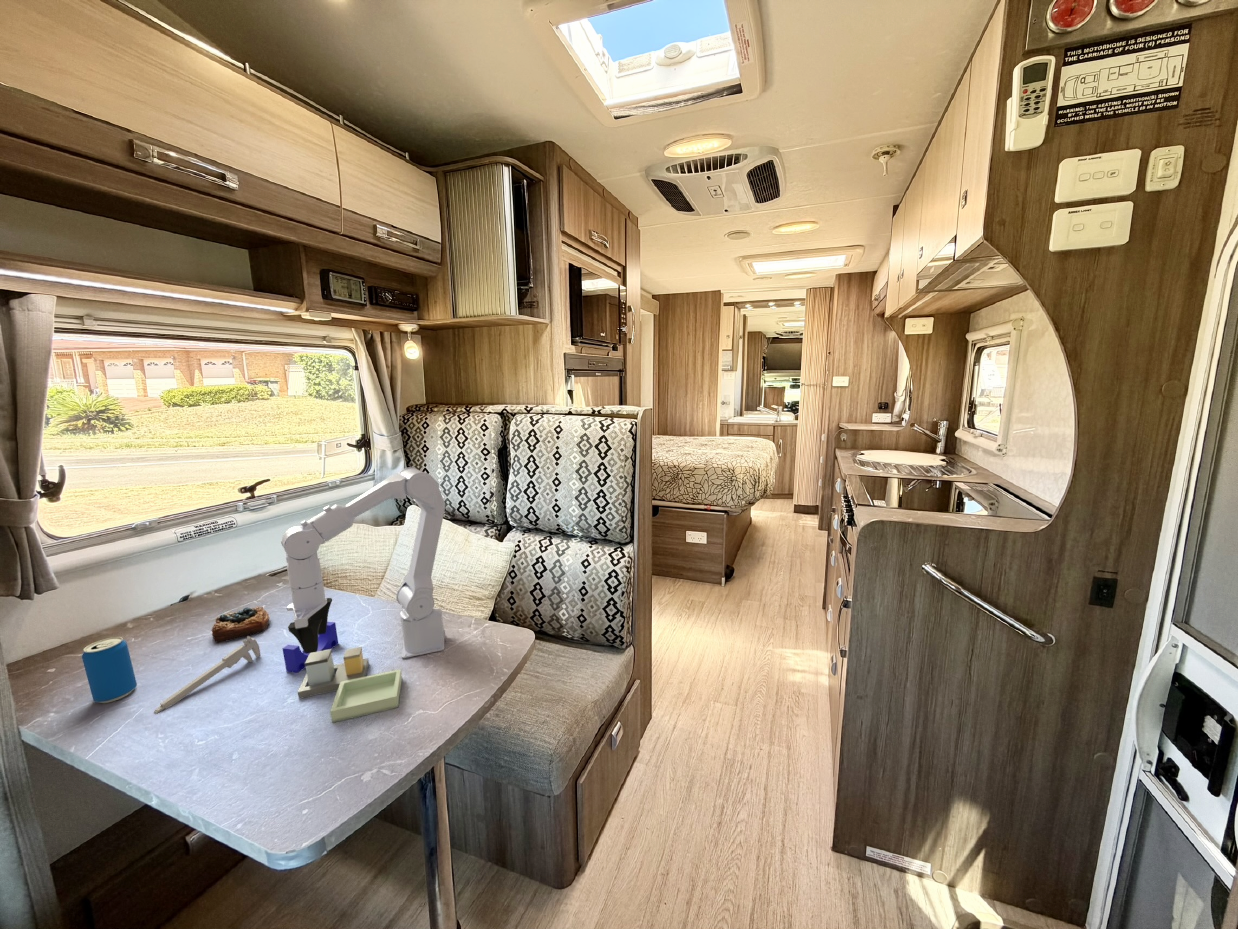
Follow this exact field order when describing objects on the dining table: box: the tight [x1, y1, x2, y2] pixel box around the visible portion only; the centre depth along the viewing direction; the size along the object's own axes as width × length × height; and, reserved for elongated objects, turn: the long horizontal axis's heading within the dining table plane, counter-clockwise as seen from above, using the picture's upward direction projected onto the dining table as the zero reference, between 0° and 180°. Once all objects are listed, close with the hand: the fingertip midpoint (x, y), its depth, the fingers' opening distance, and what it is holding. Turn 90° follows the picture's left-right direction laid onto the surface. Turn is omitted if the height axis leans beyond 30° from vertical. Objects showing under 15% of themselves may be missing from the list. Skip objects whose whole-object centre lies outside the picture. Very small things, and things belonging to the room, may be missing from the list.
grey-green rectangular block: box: [305, 649, 335, 686], centre depth 102 cm, size 4×4×7 cm
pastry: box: [210, 606, 270, 644], centre depth 126 cm, size 11×12×6 cm
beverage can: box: [81, 636, 138, 704], centre depth 100 cm, size 6×6×12 cm
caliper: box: [153, 635, 261, 714], centre depth 104 cm, size 20×1×6 cm, turn 162°
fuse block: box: [297, 646, 370, 699], centre depth 103 cm, size 12×8×6 cm, turn 110°
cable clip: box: [281, 621, 339, 674], centre depth 112 cm, size 12×4×6 cm, turn 168°
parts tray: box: [329, 668, 403, 724], centre depth 97 cm, size 12×10×2 cm
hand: (316, 642), depth 101 cm, fingers open, 7 cm apart
